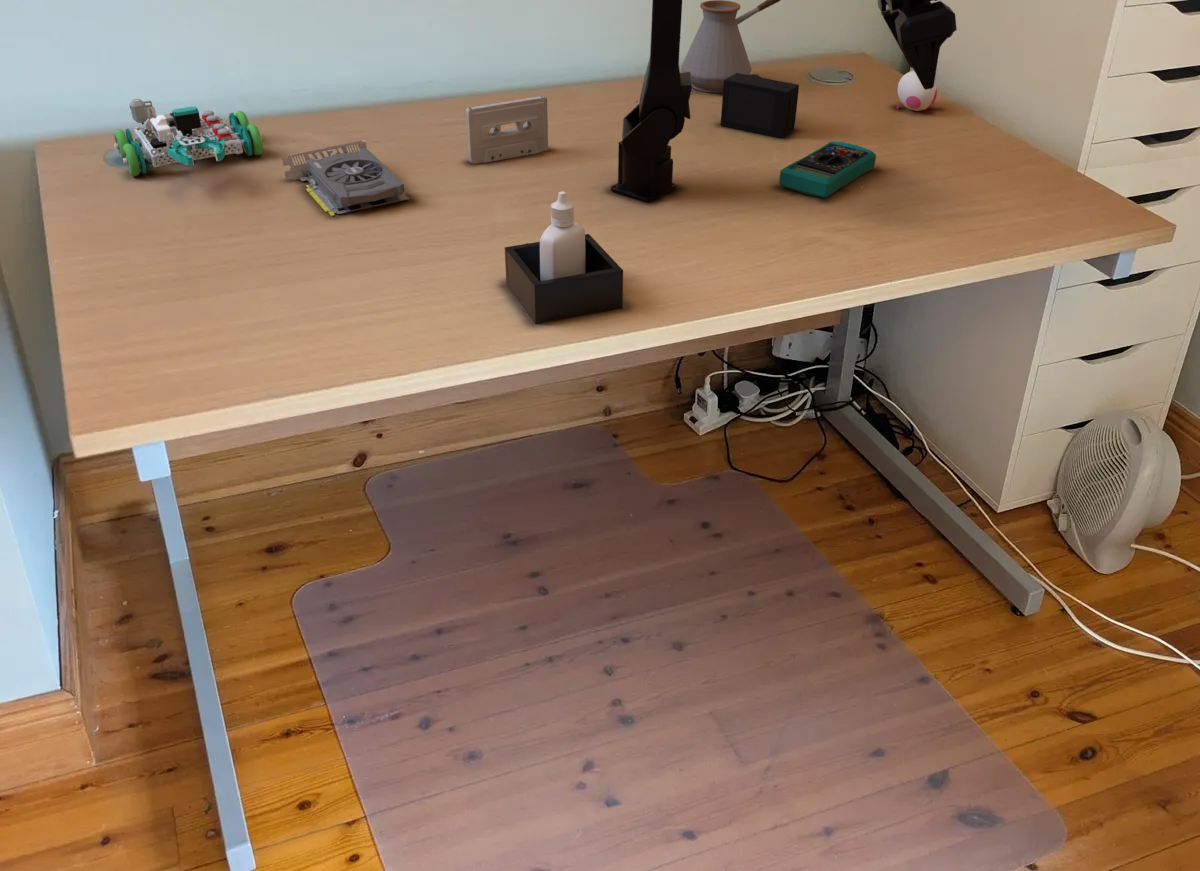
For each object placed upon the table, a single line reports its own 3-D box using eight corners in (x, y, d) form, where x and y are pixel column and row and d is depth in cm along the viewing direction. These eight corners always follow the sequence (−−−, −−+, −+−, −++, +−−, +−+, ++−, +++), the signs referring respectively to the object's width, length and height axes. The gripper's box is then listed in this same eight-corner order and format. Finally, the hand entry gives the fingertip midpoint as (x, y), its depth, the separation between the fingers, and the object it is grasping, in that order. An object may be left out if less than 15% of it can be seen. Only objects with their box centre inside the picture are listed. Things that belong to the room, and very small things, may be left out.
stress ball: (927, 137, 177) (958, 103, 174) (889, 107, 175) (920, 73, 172) (918, 119, 184) (948, 86, 180) (881, 90, 181) (911, 56, 178)
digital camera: (798, 128, 171) (803, 81, 167) (783, 138, 167) (788, 91, 163) (736, 115, 175) (740, 70, 171) (720, 125, 172) (723, 79, 168)
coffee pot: (701, 100, 181) (707, 2, 173) (668, 80, 190) (672, -14, 181) (813, 84, 189) (824, -11, 180) (776, 65, 197) (785, -26, 189)
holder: (506, 283, 127) (504, 247, 125) (588, 269, 131) (588, 233, 128) (535, 324, 120) (534, 285, 117) (622, 307, 123) (623, 270, 120)
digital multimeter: (876, 168, 157) (880, 148, 156) (825, 201, 148) (828, 180, 146) (829, 157, 161) (832, 136, 159) (776, 188, 151) (778, 167, 150)
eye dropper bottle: (532, 291, 126) (529, 189, 119) (579, 282, 128) (579, 181, 121) (546, 308, 123) (544, 204, 116) (594, 299, 124) (594, 196, 118)
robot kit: (148, 213, 143) (131, 141, 138) (112, 150, 161) (96, 84, 156) (293, 186, 151) (282, 116, 145) (243, 129, 169) (232, 65, 163)
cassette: (472, 165, 157) (469, 111, 153) (467, 161, 158) (463, 107, 154) (550, 151, 162) (549, 98, 158) (544, 147, 163) (543, 94, 159)
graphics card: (279, 153, 151) (365, 136, 156) (284, 180, 153) (368, 162, 158) (318, 198, 139) (410, 178, 144) (323, 226, 141) (413, 206, 146)
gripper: (997, -57, 123) (1007, 84, 131) (961, -86, 139) (971, 41, 147) (893, -30, 125) (909, 107, 133) (869, -62, 141) (884, 62, 149)
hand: (921, 77), depth 141 cm, fingers open, 9 cm apart
